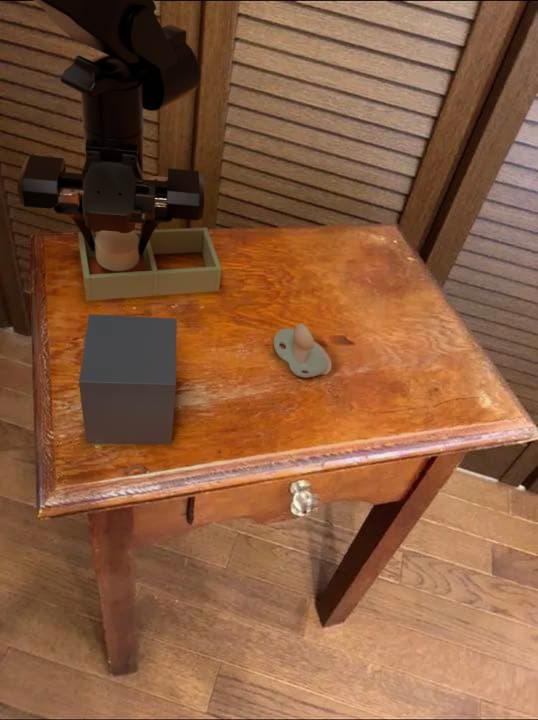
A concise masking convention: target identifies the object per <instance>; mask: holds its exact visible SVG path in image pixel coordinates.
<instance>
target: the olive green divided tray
mask: <svg viewBox="0 0 538 720" xmlns="http://www.w3.org/2000/svg"><path fill="white" fill-rule="evenodd" d="M140 231H141V229H140V230H139V229H138V230H133V231H132V232H134V233H135V234H136V235H137V236H138V238H140ZM99 232H100V231H96V235H97V234H98V233H99ZM77 236H78V237H77V239H78V248H79V258H80V265H81V272H82V279H83V286H84V292H85V301H87V302H91V301H105V300H115V299H116V300H117V299H118V300H119V299H130V298H131V299H132V298H143V297H155V296H170V295H183V294H195V293H206V292H208V293H209V292H219V291H220V286H221V281H222V280H221V279H222V277H221V276H222V271H223V269H222V266H221V262H220V260H219V257H218V254H217V252H216V249H215V247H214V246H215V245H214V243H213V240H212V238H211V234H210V232H209V230H208V227H189V228H188V227H187V228H164V229H155V230H154V231H153V233H152V235H151V237H150V239H149V241H148V243H147V246H146V248H145V250H144V252H143V254H139V262H138V263H137V265H136V266H134V267H133V268H131V269H128V270H124V271H112V270H108V269H106V268H104V267H102V266H101V265H100V264H99V263H98V262H97V260H96V252H95V251H91V249H90V247H89V245H88V243H87V242H86V240H85V238H84V236H83V234H82V233H81V232H78V233H77ZM186 253H187V254H188V253H201V255H202V259H203V261H204V264H205V266H201V267H187V268H171V269H170V268H169V269H158V266H157V263H156V260H155V256H154V255H170V254H171V255H172V254H186Z"/></svg>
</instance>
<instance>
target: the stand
mask: <svg viewBox="0 0 538 720" xmlns="http://www.w3.org/2000/svg"><path fill="white" fill-rule="evenodd" d="M177 321H178V319H177V318H171V317H170V318H169V317H152V316H151V317H150V316H132V315H130V316H129V315H112V314H110V315H109V314H91V313H89V314H88V317H87V325H86V332H85V337H84V343H83V344H84V345H83V350H82V357H81V364H80V372H79V379H78V385H79V394H80V402H81V403H80V404H81V410H82V411H81V412H82V419H83V427H84V436H85V437H84V438H85V444H86V445H167V446H169V445H170V446H171V445H172V442H173V429H174V419H175V418H174V416H175V403H176V391H177V390H176V389H177V340H178V339H177V338H178V337H177V332H178V331H177V327H178V326H177V324H178V322H177Z"/></svg>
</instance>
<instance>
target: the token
mask: <svg viewBox="0 0 538 720" xmlns="http://www.w3.org/2000/svg"><path fill="white" fill-rule="evenodd" d="M98 232H99V233H98V234H97V235H96V237H95V252H96V260H97V262H98V263H99V264H100V265H101V266H102V267H104V268H106V269H108V270H112V271H124V270H128V269H131V268H133V267H134V266H136V265H137V263H138V262H139V238H138V236H137V235H136V234H135V233H134V232H130V233H120V232H116V231H98Z"/></svg>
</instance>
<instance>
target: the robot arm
mask: <svg viewBox="0 0 538 720" xmlns="http://www.w3.org/2000/svg"><path fill="white" fill-rule="evenodd" d="M33 1H34V2H35V3H36V4H37V5H38V6H39V7H40V8H41V9H43V10H44V12H45V13H46V15H47V17H48V18H49V19H50V21H51V22H53V23H54V24H55V25H56V26H57V27H59V28H60V29H61V30H62V31H63V32H64V33H66V34H67V36H69V37H70V38H72V39H73V40H75V41H77V42H79V43H81V44H83V45H85V46H88V47H90V48H92V49H94V50H96V51H98V52H100V53H103V54H104V55H99V56H97V57H94V58H92V59H88V58H86V57H84V56H81V55H76V57H75V59H74V61H73V62H72V64H70V65H69V66H68V67H66V69H65V70H64V71H63V73H62V74H61V76H60V82H61V84H63V85H65V86H67V87H68V88H71V89H73V90H74V91H77V92H79V93H80V103H81V115H82V117H81V119H82V129H83V130H82V131H83V143H84V144H83V145H84V157H85V161H84V163H83V166H82V170H81V173H80V172H68V171H67V166H66V160H65V158H64V157H58V156H57V157H56V156H46V155H45V156H44V155H36V154H29V155H28V156H27V157H26V158H25V159H24V161H23V164H22V167H21V170H20V173H19V176H18V180H17V195H18V200H19V204H20V205H22V206H23V207H24V208H36V209H38V208H39V209H49V210H51V209H53V210H54V212H55V213H56V214H57V215H63V216H66V217H69V218H71V219H72V221H73V222H74V223H75V225H76V226H77V228H78V229H79V231H80V233H82V234H83V236H84V238H85V240H86V242H87V243H88V245H89V247H90V249H91V251H95V237H96V232H100V231H116V232H120V233H130V232H132V231H135V228H136V224H139V225H140V224H141V225H140V230H141V231H140V238H139V254H143V252H144V250H145V248H146V246H147V243H148V241H149V239H150V237H151V235H152V233H153V231H154V230H156V229H157V227H158V226H159V225H161V224H162V223H165V224H166V223H167V224H168V223H171V222H172V221H173V219H174V220H184V221H186V220H188V221H200V220H201V219H204V210H205V181H204V180H205V179H204V178H205V177H204V175H202V173H201V172H200V171H199V170H192V169H191V170H190V169H182V168H180V169H179V168H171V167H168V168H167V176H158V175H153V176H150V177H149V178H144V110H146V111H150V112H154V111H155V112H156V111H158V110H160V109H162V108H165V107H166V106H169V105H171V104H173V103H174V102H176V101H179V100H180V99H183V98H184V97H187V96H188V95H191V94H192V93H194V92H195V91H196V90H197V89H198V86H199V84H200V83H201V78H202V77H201V75H202V74H201V73H202V71H201V69H200V67H199V61H198V59H197V56H196V55H195V53H194V51H193V49H192V48H191V46H190V45H189V44H188V43H187V31H186V30H185V29H183V28H180V27H178V26H175V25H174V24H167V25H164V26H161V23H160V21H159V19H158V17H157V15H156V14H155V11H156V10H157V5H156V2H155V1H154V0H33Z"/></svg>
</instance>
